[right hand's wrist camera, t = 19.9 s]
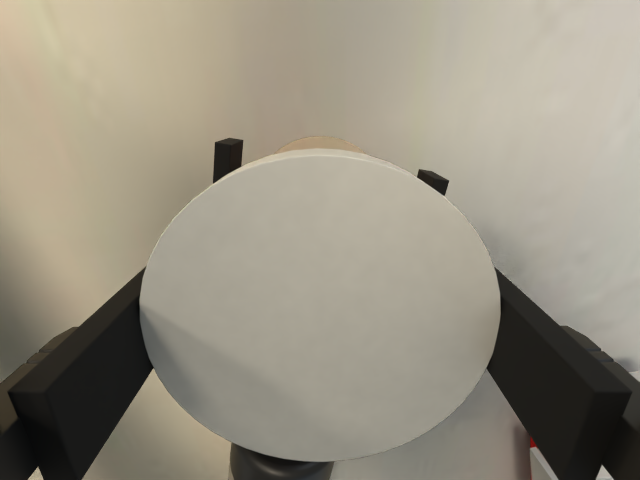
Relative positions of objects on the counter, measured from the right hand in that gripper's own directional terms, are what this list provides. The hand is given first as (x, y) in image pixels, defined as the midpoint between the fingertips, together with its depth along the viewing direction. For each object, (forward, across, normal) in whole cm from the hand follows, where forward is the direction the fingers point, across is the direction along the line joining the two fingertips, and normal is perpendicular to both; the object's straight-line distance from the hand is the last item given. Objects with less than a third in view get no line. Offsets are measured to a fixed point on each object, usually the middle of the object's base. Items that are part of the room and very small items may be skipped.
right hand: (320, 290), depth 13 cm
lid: (-3, 0, 0) cm, 3 cm away
